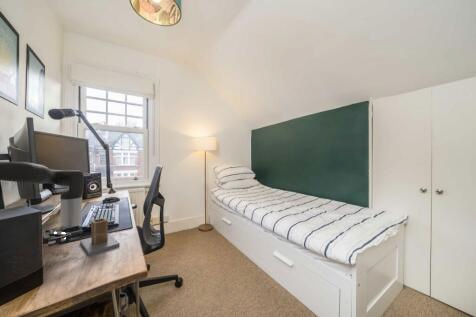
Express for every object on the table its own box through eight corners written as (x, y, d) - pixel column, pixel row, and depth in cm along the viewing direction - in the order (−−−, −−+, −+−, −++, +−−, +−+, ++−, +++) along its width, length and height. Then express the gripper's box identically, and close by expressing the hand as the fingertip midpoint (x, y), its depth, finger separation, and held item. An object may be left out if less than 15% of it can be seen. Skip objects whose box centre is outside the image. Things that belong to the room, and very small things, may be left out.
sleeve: (91, 242, 84) (91, 220, 84) (104, 238, 88) (104, 217, 88) (94, 245, 81) (94, 223, 81) (107, 241, 85) (107, 220, 85)
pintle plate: (80, 243, 86) (80, 227, 86) (108, 235, 94) (108, 221, 94) (89, 256, 75) (89, 238, 75) (119, 246, 83) (119, 230, 83)
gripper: (24, 238, 62) (84, 225, 75) (23, 228, 71) (77, 217, 84) (24, 260, 62) (84, 243, 75) (23, 247, 71) (77, 234, 84)
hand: (81, 230), depth 79 cm, fingers open, 8 cm apart
